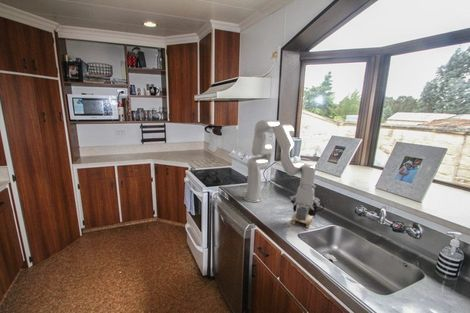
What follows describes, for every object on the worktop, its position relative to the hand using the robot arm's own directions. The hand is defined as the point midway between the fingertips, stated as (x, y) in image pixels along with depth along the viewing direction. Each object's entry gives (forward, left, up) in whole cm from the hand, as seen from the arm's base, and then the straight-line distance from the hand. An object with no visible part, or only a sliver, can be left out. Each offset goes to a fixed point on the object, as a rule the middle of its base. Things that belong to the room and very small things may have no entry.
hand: (302, 213), depth 143 cm
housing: (0, 0, -2) cm, 2 cm away
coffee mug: (+3, +17, -6) cm, 18 cm away
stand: (0, 0, -6) cm, 6 cm away
